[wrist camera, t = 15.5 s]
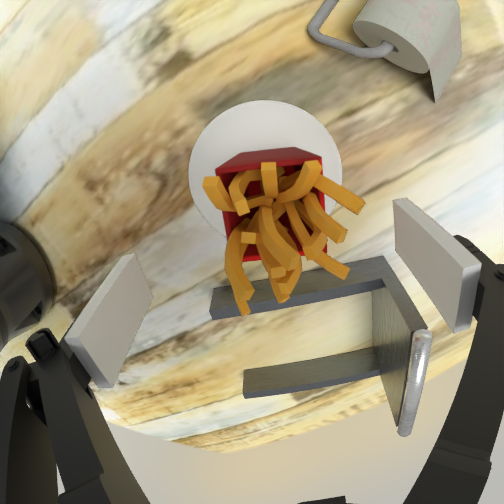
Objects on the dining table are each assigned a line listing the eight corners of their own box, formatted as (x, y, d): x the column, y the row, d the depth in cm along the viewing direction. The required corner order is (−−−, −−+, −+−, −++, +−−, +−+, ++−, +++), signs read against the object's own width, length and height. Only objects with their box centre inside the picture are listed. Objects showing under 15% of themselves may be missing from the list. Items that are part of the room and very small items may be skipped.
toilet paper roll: (424, 122, 26) (408, 68, 16) (338, 74, 30) (285, 19, 20) (466, 48, 22) (462, -26, 12) (380, 8, 26) (342, -60, 16)
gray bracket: (246, 375, 41) (240, 464, 29) (214, 288, 35) (192, 385, 23) (383, 350, 39) (413, 434, 27) (383, 255, 33) (435, 340, 21)
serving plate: (213, 256, 33) (212, 259, 33) (172, 122, 27) (170, 122, 27) (349, 229, 31) (350, 232, 31) (325, 87, 25) (326, 87, 25)
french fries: (227, 143, 27) (192, 190, 14) (321, 133, 27) (378, 170, 13) (241, 234, 31) (226, 342, 18) (327, 225, 31) (371, 327, 17)
